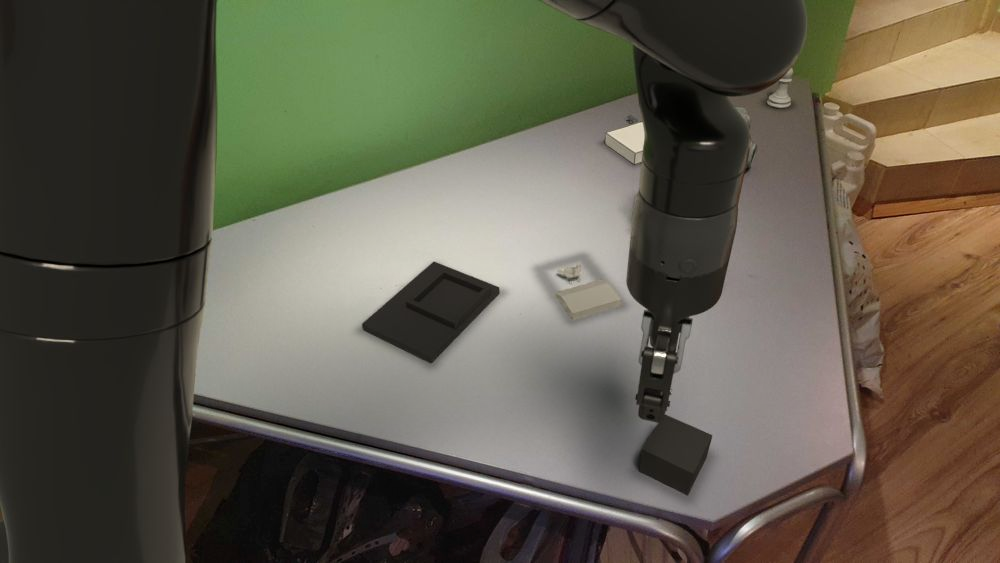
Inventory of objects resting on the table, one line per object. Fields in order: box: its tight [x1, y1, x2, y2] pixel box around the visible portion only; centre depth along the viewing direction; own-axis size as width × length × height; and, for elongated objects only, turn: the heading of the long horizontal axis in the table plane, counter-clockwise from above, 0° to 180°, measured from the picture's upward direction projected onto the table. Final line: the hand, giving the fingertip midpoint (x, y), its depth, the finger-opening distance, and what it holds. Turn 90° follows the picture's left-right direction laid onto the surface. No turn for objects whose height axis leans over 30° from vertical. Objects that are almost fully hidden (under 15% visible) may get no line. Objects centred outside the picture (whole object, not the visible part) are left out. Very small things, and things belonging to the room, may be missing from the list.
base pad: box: [361, 261, 501, 364], centre depth 90 cm, size 16×12×2 cm
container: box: [604, 114, 644, 166], centre depth 124 cm, size 20×12×3 cm, turn 27°
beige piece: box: [554, 263, 622, 321], centre depth 93 cm, size 7×12×2 cm, turn 20°
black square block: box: [639, 413, 713, 496], centre depth 69 cm, size 6×6×4 cm
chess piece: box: [766, 67, 794, 109], centre depth 133 cm, size 5×5×8 cm
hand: (657, 382), depth 60 cm, fingers open, 8 cm apart
